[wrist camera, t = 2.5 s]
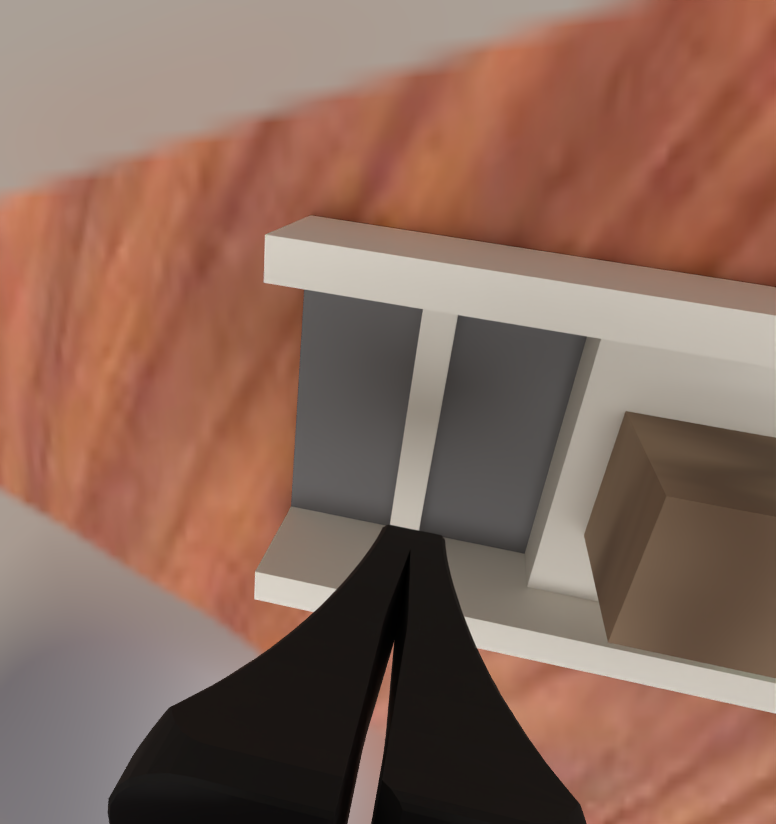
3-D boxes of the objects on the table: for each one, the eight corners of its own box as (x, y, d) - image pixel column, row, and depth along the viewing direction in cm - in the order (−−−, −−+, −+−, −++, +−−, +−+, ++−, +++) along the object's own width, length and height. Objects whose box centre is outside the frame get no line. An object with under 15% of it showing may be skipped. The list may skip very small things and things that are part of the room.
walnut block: (788, 440, 17) (882, 537, 13) (727, 563, 18) (792, 681, 14) (625, 410, 17) (666, 495, 13) (583, 535, 19) (607, 642, 15)
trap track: (1110, 338, 16) (1288, 397, 12) (890, 651, 21) (970, 756, 18) (310, 215, 18) (264, 234, 14) (291, 528, 23) (254, 599, 20)
